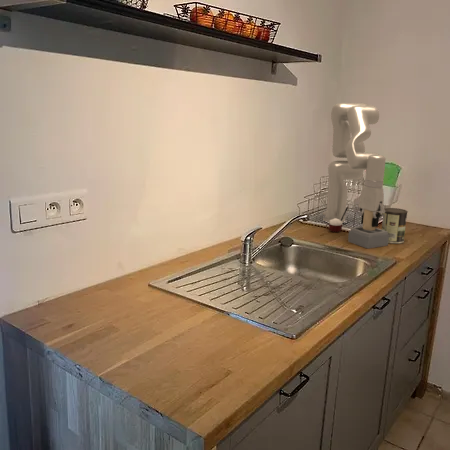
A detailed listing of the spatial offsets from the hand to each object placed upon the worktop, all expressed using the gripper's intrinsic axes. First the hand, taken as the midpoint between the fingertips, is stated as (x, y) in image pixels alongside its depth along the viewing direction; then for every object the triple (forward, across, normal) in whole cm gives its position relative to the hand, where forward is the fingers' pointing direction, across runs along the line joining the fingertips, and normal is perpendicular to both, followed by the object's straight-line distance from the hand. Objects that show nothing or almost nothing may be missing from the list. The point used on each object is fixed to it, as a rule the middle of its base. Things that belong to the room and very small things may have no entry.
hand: (369, 224), depth 218 cm
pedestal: (+8, 0, 0) cm, 8 cm away
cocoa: (+9, -22, +1) cm, 24 cm away
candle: (+2, 0, 0) cm, 2 cm away
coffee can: (+9, +1, +14) cm, 17 cm away
